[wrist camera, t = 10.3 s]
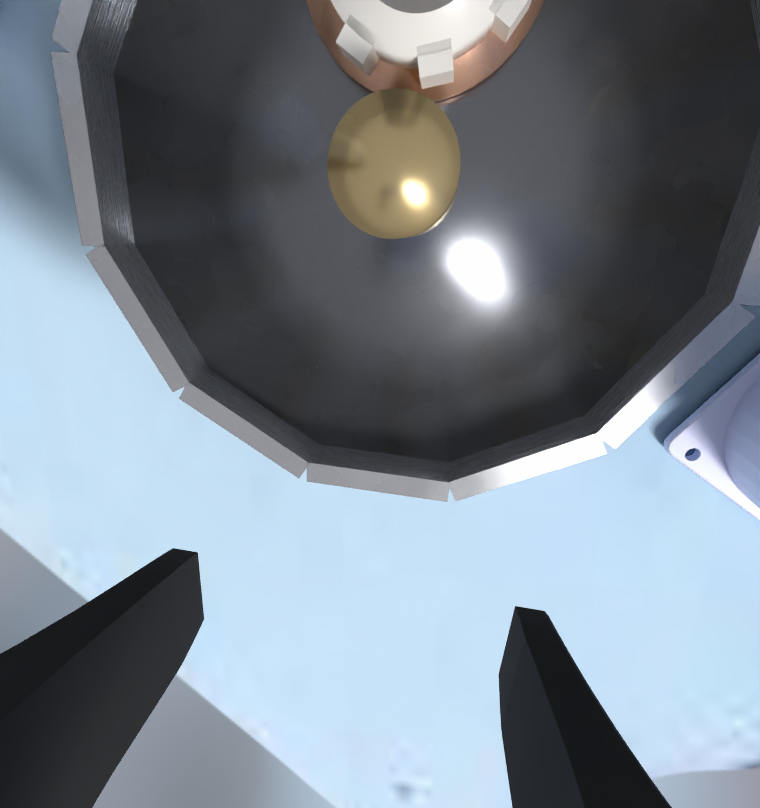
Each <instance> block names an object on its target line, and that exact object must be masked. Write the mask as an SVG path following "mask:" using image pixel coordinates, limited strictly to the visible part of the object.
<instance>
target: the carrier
mask: <svg viewBox="0 0 760 808" xmlns="http://www.w3.org/2000/svg"><path fill="white" fill-rule="evenodd" d="M343 27H344V24H343V22H342V21H341V19H340V17H339V15H338V13H337V11H336V9H335V8H334V6H333V4H332V2H331V0H61V4H60V7H59V11H58V15H57V19H56V22H55V26H54V30H53V33H52V37H51V39H52V40H53V41H55V42H56V43H57V44H59V45H60V46H61V47H63V48H64V49H66V50H67V51H68V52H51V57H52V64H53V70H54V76H55V82H56V88H57V94H58V100H59V107H60V113H61V119H62V125H63V131H64V137H65V144H66V150H67V156H68V162H69V168H70V174H71V180H72V187H73V193H74V199H75V205H76V211H77V217H78V224H79V230H80V236H81V242H82V245H88V246H99V247H97V248H96V249H94V250H92V251H91V252H89V253H88V254H86V256H87V258H88V259H89V261H90V262H91V264H92V265H93V267H94V269H95V270H96V272H97V273H98V275H99V276H100V278H101V280H102V281H103V283H104V284H105V286H106V288H107V289H108V291H109V292H110V294H111V295H112V297H113V299H114V300H115V302H116V303H117V305H118V306H119V308H120V310H121V311H122V313H123V314H124V316H125V318H126V319H127V321H128V322H129V324H130V325H131V327H132V329H133V330H134V332H135V333H136V335H137V336H138V338H139V340H140V341H141V343H142V344H143V346H144V348H145V349H146V351H147V352H148V354H149V355H150V357H151V359H152V360H153V362H154V363H155V365H156V366H157V368H158V370H159V371H160V373H161V374H162V376H163V378H164V379H165V381H166V382H167V384H168V385H169V387H170V389H171V390H172V392H174V391H176V390H178V389H180V388H183V387H185V388H184V390H183V392H182V394H181V396H180V398H179V399H180V400H182V401H183V402H185V403H186V404H188V405H189V406H191V407H192V408H194V409H195V410H197V411H198V412H200V413H201V414H203V415H204V416H206V417H207V418H209V419H210V420H212V421H213V422H215V423H216V424H218V425H219V426H221V427H222V428H224V429H226V430H227V431H229V432H230V433H232V434H233V435H235V436H236V437H238V438H239V439H241V440H242V441H244V442H245V443H247V444H248V445H250V446H251V447H253V448H254V449H256V450H257V451H259V452H260V453H262V454H263V455H265V456H266V457H268V458H269V459H271V460H272V461H274V462H275V463H277V464H278V465H280V466H281V467H283V468H284V469H286V470H287V471H289V472H290V473H292V474H293V475H295V476H296V477H298V478H300V476H301V475H302V473H303V472H304V471H305V469H306V468H307V482H314V483H321V484H328V485H335V486H342V487H349V488H355V489H362V490H369V491H376V492H383V493H390V494H396V495H403V496H410V497H417V498H424V499H431V500H438V501H444V502H447V500H448V493H449V488H450V490H451V492H452V494H453V496H454V498H455V500H456V501H458V500H461V499H464V498H468V497H471V496H474V495H477V494H480V493H483V492H487V491H490V490H493V489H496V488H499V487H502V486H506V485H509V484H512V483H515V482H518V481H521V480H524V479H528V478H531V477H534V476H537V475H540V474H543V473H547V472H550V471H553V470H556V469H559V468H562V467H566V466H569V465H572V464H575V463H578V462H581V461H585V460H588V459H591V458H594V457H597V456H600V455H603V454H606V451H605V449H604V446H603V443H602V440H601V439H603V440H604V441H605V442H607V443H608V444H610V445H611V446H612V447H614V448H616V447H617V446H618V445H619V444H620V443H622V442H623V441H624V440H625V439H626V438H627V437H628V436H629V435H630V434H631V433H632V432H633V431H634V430H635V429H636V428H638V427H639V426H640V425H641V424H642V423H643V422H644V421H645V420H646V419H647V418H648V417H649V416H650V415H651V414H653V413H654V412H655V411H656V410H657V409H658V408H659V407H660V406H661V405H662V404H663V403H664V402H665V401H666V400H667V399H669V398H670V397H671V396H672V395H673V394H674V393H675V392H676V391H677V390H678V389H679V388H680V387H681V386H682V385H683V384H685V383H686V382H687V381H688V380H689V379H690V378H691V377H692V376H693V375H694V374H695V373H696V372H697V371H698V370H700V369H701V368H702V367H703V366H704V365H705V364H706V363H707V362H708V361H709V360H710V359H711V358H712V357H713V356H714V355H716V354H717V353H718V352H719V351H720V350H721V349H722V348H723V347H724V346H725V345H726V344H727V343H728V342H729V341H731V340H732V339H733V338H734V337H735V336H736V335H737V334H738V333H739V332H740V331H741V330H742V329H743V328H744V327H745V326H747V325H748V324H749V323H750V322H751V321H752V320H753V319H754V318H755V316H754V315H753V314H751V313H750V312H749V311H748V310H746V309H745V308H744V307H742V306H741V305H740V304H742V305H753V306H760V0H532V1H531V4H530V7H529V9H528V11H527V12H526V14H525V15H524V16H523V18H522V19H521V21H520V22H519V24H518V25H517V27H516V28H515V30H514V31H513V33H512V34H511V36H510V37H509V39H508V40H507V42H506V43H505V42H503V41H502V40H501V39H500V38H499V37H498V36H496V35H495V34H494V33H493V32H492V31H491V32H490V33H489V34H488V35H487V37H486V38H485V39H484V40H483V41H481V42H480V43H479V44H478V45H477V46H476V47H474V48H473V49H472V50H470V51H469V52H467V53H466V54H464V55H463V56H461V57H460V58H457V59H455V60H453V67H454V82H451V83H447V84H442V85H438V86H434V87H429V88H425V89H422V87H421V82H420V77H419V69H408V68H402V67H397V66H394V65H391V64H388V63H386V62H384V61H382V60H380V59H379V60H378V62H377V63H376V65H375V67H374V69H373V70H372V72H371V74H370V76H368V75H367V74H366V73H364V72H363V71H362V70H361V69H359V68H358V67H357V66H356V65H355V64H353V63H352V62H351V61H350V60H349V59H347V58H346V57H345V56H344V55H343V53H342V52H341V50H340V48H339V47H338V45H337V44H336V40H337V38H338V36H339V34H340V32H341V30H342V29H343Z"/></svg>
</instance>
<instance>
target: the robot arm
mask: <svg viewBox="0 0 760 808" xmlns="http://www.w3.org/2000/svg"><path fill="white" fill-rule="evenodd" d="M664 448H665V450H666V451H667V452H668V453H669V454H670V455H671V456H672V457H673V458H675V459H676V460H677V461H679V462H680V463H681V464H683V465H684V466H686V467H687V468H688V469H690V470H691V471H692V472H694V473H695V474H696V475H698V476H699V477H701V478H702V479H703V480H705V481H706V482H707V483H709V484H710V485H711V486H713V487H714V488H716V489H717V490H718V491H720V492H721V493H722V494H724V495H725V496H726V497H728V498H729V499H730V500H732V501H733V502H735V503H736V504H737V505H739V506H740V507H741V508H743V509H744V510H745V511H747V512H748V513H750V514H751V515H752V516H754V517H755V518H756V519H758V520H759V521H760V353H759V354H758V355H757V356H756V357H755V358H754V359H753V360H752V361H750V362H749V363H748V364H747V365H746V366H745V367H744V368H743V369H742V370H740V371H739V372H738V373H737V374H736V375H735V376H734V377H733V378H732V379H730V380H729V381H728V382H727V383H726V384H725V385H724V386H723V387H722V388H720V389H719V390H718V391H717V392H716V393H715V394H714V395H713V396H711V397H710V398H709V399H708V400H707V401H706V402H705V403H704V404H703V405H701V406H700V407H699V408H698V409H697V410H696V411H695V412H694V413H693V414H691V415H690V416H689V417H688V418H687V419H686V420H685V421H684V422H683V423H681V424H680V425H679V426H678V427H677V428H676V429H675V430H674V431H672V432H671V433H670V434H669V435H668V436H667V437H666V439H665V441H664ZM692 448H695V452H694V453H693V454H692V455H690V456H685V453H686V452H687V451H688V450H689V449H692ZM203 620H204V614H203V604H202V593H201V583H200V572H199V562H198V553H197V552H192V551H186V550H180V549H174V548H173V549H171V550H170V551H168V552H166V553H165V554H163V555H161V556H160V557H158V558H157V559H155V560H154V561H152V562H150V563H149V564H147V565H146V566H144V567H143V568H141V569H140V570H138V571H136V572H135V573H133V574H132V575H130V576H129V577H127V578H126V579H124V580H123V581H121V582H119V583H118V584H116V585H115V586H113V587H112V588H110V589H108V590H107V591H105V592H104V593H102V594H101V595H99V596H97V597H96V598H94V599H93V600H91V601H89V602H88V603H86V604H85V605H83V606H82V607H80V608H78V609H77V610H75V611H74V612H72V613H70V614H68V615H67V616H65V617H63V618H62V619H60V620H58V621H57V622H55V623H53V624H51V625H50V626H48V627H47V628H45V629H43V630H41V631H40V632H38V633H36V634H35V635H33V636H31V637H29V638H28V639H26V640H24V641H22V642H21V643H19V644H18V645H16V646H14V647H12V648H10V649H9V650H7V651H5V652H3V653H1V654H0V808H92V807H93V806H94V804H95V802H96V800H97V798H98V797H99V795H100V793H101V791H102V790H103V788H104V787H105V785H106V783H107V782H108V780H109V778H110V776H111V775H112V773H113V772H114V770H115V769H116V767H117V765H118V764H119V762H120V761H121V759H122V757H123V756H124V754H125V753H126V751H127V750H128V748H129V747H130V745H131V744H132V742H133V740H134V739H135V737H136V736H137V734H138V733H139V731H140V730H141V728H142V726H143V725H144V723H145V722H146V720H147V719H148V717H149V715H150V714H151V712H152V711H153V709H154V708H155V706H156V705H157V703H158V701H159V700H160V698H161V697H162V695H163V694H164V692H165V690H166V689H167V687H168V686H169V684H170V682H171V681H172V679H173V678H174V676H175V675H176V673H177V671H178V670H179V668H180V667H181V665H182V663H183V661H184V659H185V657H186V655H187V653H188V651H189V649H190V647H191V645H192V643H193V641H194V639H195V637H196V635H197V633H198V631H199V629H200V627H201V625H202V622H203ZM499 692H500V714H501V730H502V737H503V744H504V751H505V758H506V765H507V772H508V779H509V786H510V793H511V800H512V806H513V808H672V807H671V806H670V805H669V804H668V802H667V801H666V799H665V798H664V797H663V795H662V794H661V793H660V791H659V790H658V788H657V787H656V786H655V784H654V783H653V781H652V780H651V779H650V777H649V776H648V774H647V773H646V771H645V770H644V769H643V767H642V766H641V764H640V763H639V761H638V760H637V759H636V757H635V756H634V754H633V753H632V751H631V750H630V748H629V747H628V746H627V744H626V743H625V741H624V740H623V738H622V737H621V735H620V734H619V732H618V731H617V729H616V728H615V726H614V724H613V723H612V721H611V720H610V718H609V717H608V715H607V714H606V712H605V710H604V709H603V707H602V706H601V704H600V703H599V701H598V699H597V698H596V696H595V695H594V693H593V692H592V690H591V688H590V687H589V685H588V683H587V682H586V680H585V679H584V677H583V675H582V674H581V672H580V670H579V669H578V667H577V665H576V663H575V662H574V660H573V658H572V657H571V655H570V653H569V652H568V650H567V648H566V646H565V645H564V643H563V641H562V639H561V638H560V636H559V634H558V632H557V630H556V629H555V627H554V625H553V623H552V621H551V620H550V618H549V616H548V615H547V614H546V612H545V611H540V610H535V609H529V608H523V607H517V606H515V609H514V613H513V618H512V622H511V626H510V630H509V634H508V638H507V642H506V646H505V651H504V655H503V659H502V663H501V667H500V671H499Z"/></svg>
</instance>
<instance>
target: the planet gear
mask: <svg viewBox="0 0 760 808" xmlns="http://www.w3.org/2000/svg"><path fill="white" fill-rule="evenodd" d="M531 1H532V0H331V2H332V4H333V6H334V8H335V9H336V11H337V13H338V15H339V17H340V19H341V21H342V22H343V24H344V27H343V29H342V30H341V32H340V34H339V36H338V38H337V40H336V44H337V45H338V47H339V48H340V50H341V52H342V53H343V55H344V56H345V57H346V58H347V59H349V60H350V61H351V62H352V63H353V64H355V65H356V66H357V67H358V68H359V69H361V70H362V71H363V72H364V73H366V74H367V75H368V76H370V74H371V72H372V70H373V69H374V67H375V65H376V63H377V62H378V60H379V59H380V60H382V61H384V62H386V63H388V64H391V65H394V66H397V67H402V68H408V69H419V77H420V82H421V87H422V89H425V88H429V87H434V86H438V85H442V84H447V83H451V82H454V67H453V60H455V59H457V58H460V57H461V56H463V55H464V54H466V53H467V52H469V51H470V50H472V49H473V48H474V47H476V46H477V45H478V44H479V43H480V42H481V41H483V40H484V39H485V38H486V37H487V35H488V34H489V33H490V32H491V31H492V32H493V33H494V34H495V35H496V36H498V37H499V38H500V39H501V40H502V41H503V42H505V43H506V42H507V40H508V39H509V37H510V36H511V34H512V33H513V31H514V30H515V28H516V27H517V25H518V24H519V22H520V21H521V19H522V18H523V16H524V15H525V14H526V12H527V11H528V9H529V7H530V4H531Z"/></svg>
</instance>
